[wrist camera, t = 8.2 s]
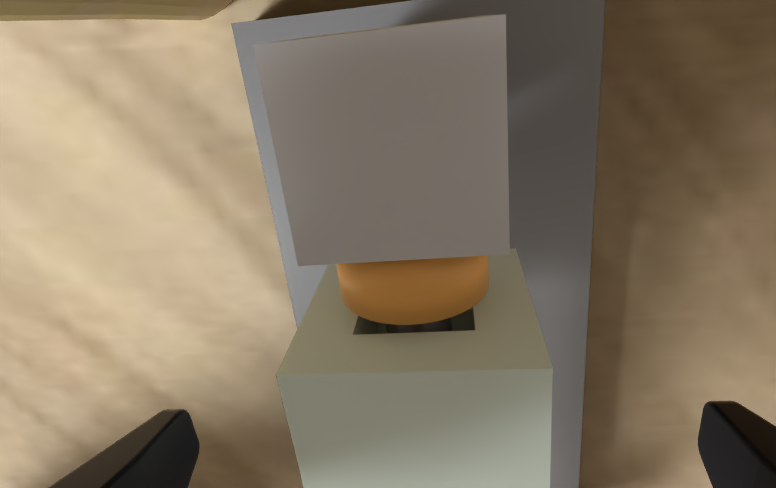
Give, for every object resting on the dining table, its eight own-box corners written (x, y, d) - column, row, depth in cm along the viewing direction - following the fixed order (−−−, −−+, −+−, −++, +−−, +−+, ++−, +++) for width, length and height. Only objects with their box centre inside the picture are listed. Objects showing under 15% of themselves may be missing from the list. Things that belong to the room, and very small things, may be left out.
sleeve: (517, 398, 12) (548, 559, 9) (355, 401, 13) (320, 553, 9) (515, 248, 11) (552, 368, 7) (330, 258, 11) (275, 375, 8)
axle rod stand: (564, 556, 22) (638, 885, 13) (358, 550, 23) (310, 849, 15) (589, -21, 13) (844, -88, 5) (252, 22, 14) (-17, 31, 6)
